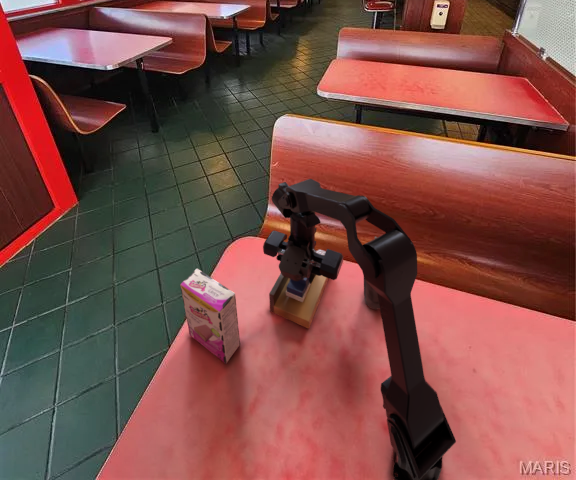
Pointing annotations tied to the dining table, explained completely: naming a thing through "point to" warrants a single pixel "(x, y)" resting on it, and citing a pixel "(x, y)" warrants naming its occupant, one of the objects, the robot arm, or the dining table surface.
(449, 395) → the dining table surface
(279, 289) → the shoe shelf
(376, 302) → the beverage cup
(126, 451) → the dining table surface
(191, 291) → the candy bar box
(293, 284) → the navy stepped block
